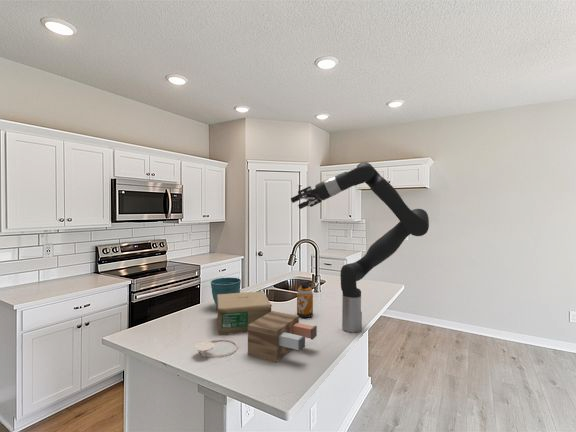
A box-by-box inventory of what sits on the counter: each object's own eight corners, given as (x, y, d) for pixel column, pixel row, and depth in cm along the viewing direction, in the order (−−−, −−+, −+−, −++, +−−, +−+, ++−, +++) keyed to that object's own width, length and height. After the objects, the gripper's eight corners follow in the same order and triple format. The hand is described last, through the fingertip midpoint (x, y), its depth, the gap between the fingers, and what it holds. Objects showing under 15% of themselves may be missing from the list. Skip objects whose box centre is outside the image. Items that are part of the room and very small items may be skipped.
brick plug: (285, 329, 145) (285, 319, 144) (316, 335, 137) (316, 325, 137) (280, 332, 141) (280, 322, 141) (312, 339, 133) (312, 329, 133)
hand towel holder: (246, 337, 140) (211, 355, 123) (246, 346, 140) (211, 366, 123) (219, 328, 150) (183, 344, 132) (219, 337, 150) (183, 354, 133)
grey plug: (271, 339, 134) (271, 328, 134) (305, 346, 127) (305, 336, 127) (266, 343, 130) (266, 332, 130) (300, 351, 123) (300, 340, 123)
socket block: (272, 336, 150) (272, 310, 150) (298, 342, 144) (298, 315, 143) (247, 354, 132) (247, 325, 132) (276, 362, 126) (276, 331, 125)
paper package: (217, 336, 151) (217, 307, 151) (216, 317, 176) (216, 292, 176) (273, 331, 158) (273, 303, 157) (264, 313, 183) (264, 289, 182)
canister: (294, 316, 177) (294, 281, 176) (302, 311, 187) (302, 277, 186) (308, 319, 173) (309, 283, 172) (316, 313, 183) (316, 279, 182)
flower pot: (205, 312, 185) (204, 283, 184) (218, 302, 202) (218, 276, 202) (233, 314, 180) (233, 285, 180) (245, 305, 198) (245, 278, 197)
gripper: (326, 189, 128) (291, 206, 132) (336, 201, 140) (303, 216, 144) (320, 174, 131) (286, 191, 135) (330, 187, 143) (298, 202, 148)
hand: (295, 204), depth 140 cm, fingers open, 8 cm apart
